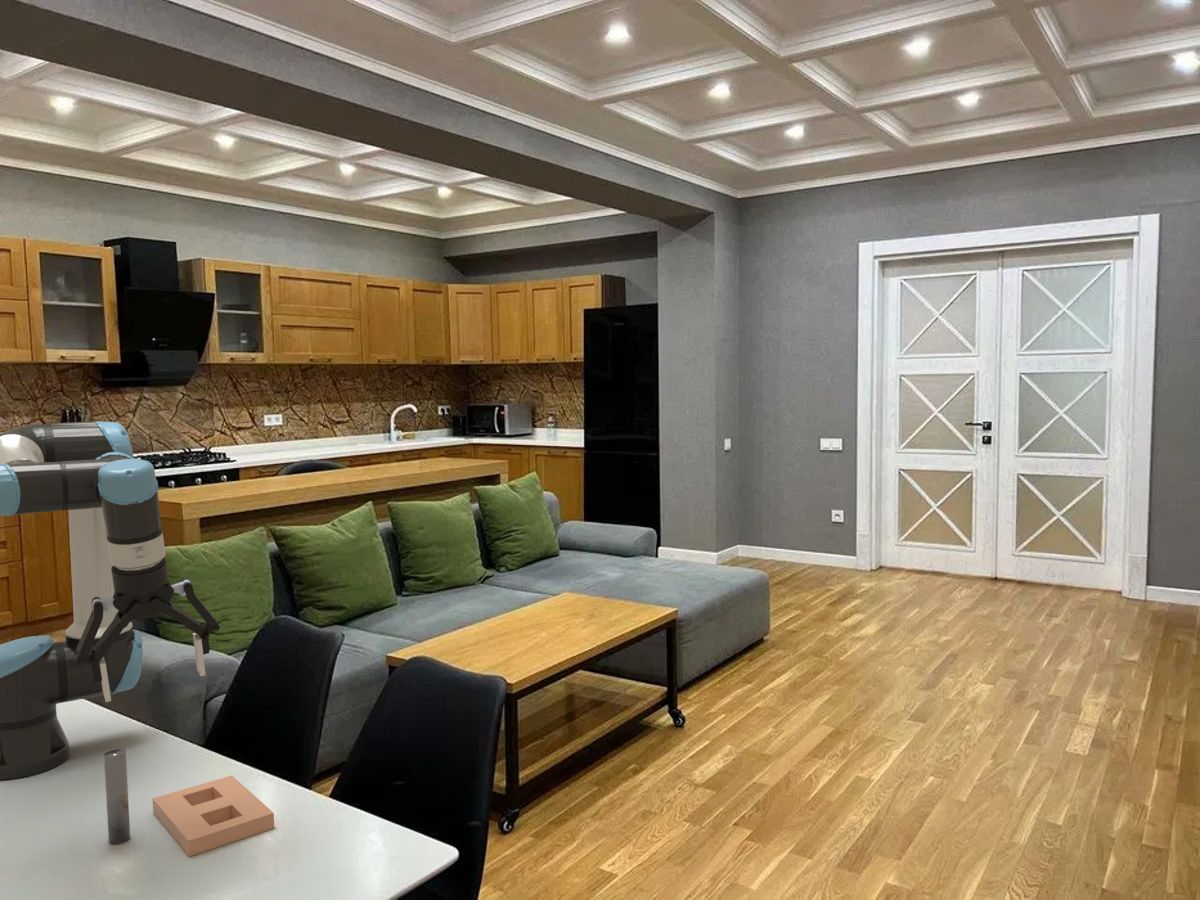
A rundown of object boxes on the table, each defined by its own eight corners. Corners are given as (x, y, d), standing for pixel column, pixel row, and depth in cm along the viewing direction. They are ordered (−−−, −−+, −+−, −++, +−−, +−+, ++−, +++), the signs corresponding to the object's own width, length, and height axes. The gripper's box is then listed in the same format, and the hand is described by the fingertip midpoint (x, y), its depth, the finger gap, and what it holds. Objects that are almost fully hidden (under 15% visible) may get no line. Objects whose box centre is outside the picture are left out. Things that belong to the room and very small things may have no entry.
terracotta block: (153, 812, 150) (152, 798, 150) (232, 789, 159) (231, 775, 159) (189, 856, 136) (188, 840, 136) (274, 827, 144) (273, 812, 144)
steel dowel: (106, 839, 142) (101, 752, 141) (127, 832, 144) (122, 747, 142) (111, 846, 139) (106, 758, 138) (132, 839, 141) (128, 753, 140)
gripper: (45, 590, 126) (67, 721, 133) (231, 552, 140) (243, 672, 146) (40, 570, 132) (62, 697, 138) (219, 536, 146) (231, 652, 152)
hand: (155, 684), depth 142 cm, fingers open, 13 cm apart
